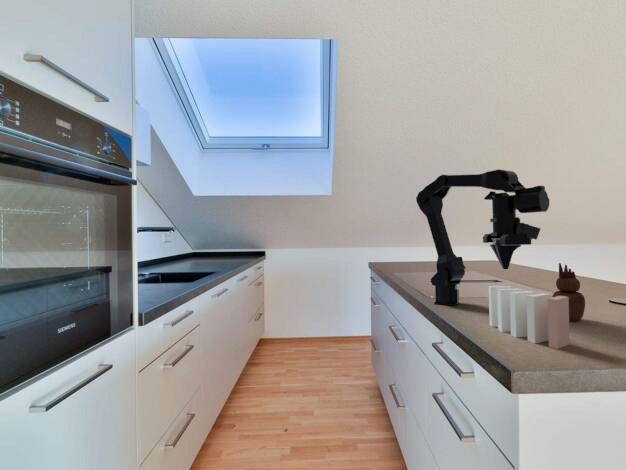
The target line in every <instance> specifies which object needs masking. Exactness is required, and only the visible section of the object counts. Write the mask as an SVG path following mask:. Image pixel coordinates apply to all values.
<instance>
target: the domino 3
mask: <svg viewBox="0 0 626 470" xmlns="http://www.w3.org/2000/svg"><path fill="white" fill-rule="evenodd" d="M533 294H536V292H535V291H531V290H522V291H519V292H510V322H511V332H510V336H511V337H514V338H517V339H518V338H524V337H526V338H528V334H527V295H533Z"/></svg>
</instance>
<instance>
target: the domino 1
mask: <svg viewBox="0 0 626 470" xmlns="http://www.w3.org/2000/svg"><path fill="white" fill-rule="evenodd" d="M497 289H514V287H513V286H510V285H489V286H488V310H489V311H488V315H489V316H488V317H489V326H490V327H492V328H498V302H497Z"/></svg>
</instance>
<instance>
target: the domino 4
mask: <svg viewBox="0 0 626 470" xmlns="http://www.w3.org/2000/svg"><path fill="white" fill-rule="evenodd" d="M548 298H551V294H548V293H544V292H543V293H535V294H533V295H527V334H528V337H527V342H529V343H533V344H539V343H544V342H549V336H548Z"/></svg>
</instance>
